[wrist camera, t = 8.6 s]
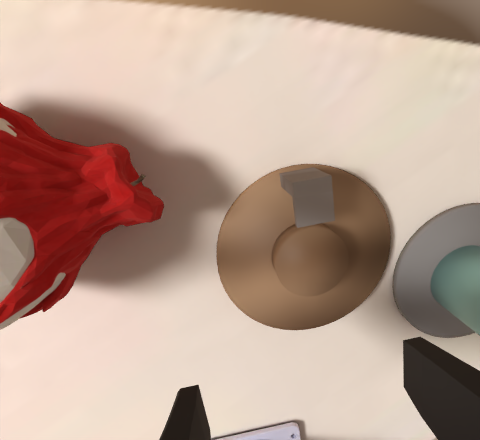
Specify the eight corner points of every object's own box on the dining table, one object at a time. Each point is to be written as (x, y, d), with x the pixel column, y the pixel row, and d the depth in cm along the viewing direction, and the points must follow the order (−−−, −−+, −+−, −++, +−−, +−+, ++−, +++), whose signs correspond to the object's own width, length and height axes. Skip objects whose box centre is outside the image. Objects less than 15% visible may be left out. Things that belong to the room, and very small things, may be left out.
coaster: (520, 317, 25) (527, 322, 24) (393, 344, 24) (398, 350, 24) (535, 190, 22) (544, 192, 21) (391, 218, 21) (396, 221, 21)
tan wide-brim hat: (387, 306, 23) (418, 338, 20) (232, 339, 23) (237, 377, 19) (383, 148, 20) (419, 154, 16) (200, 182, 19) (199, 196, 16)
